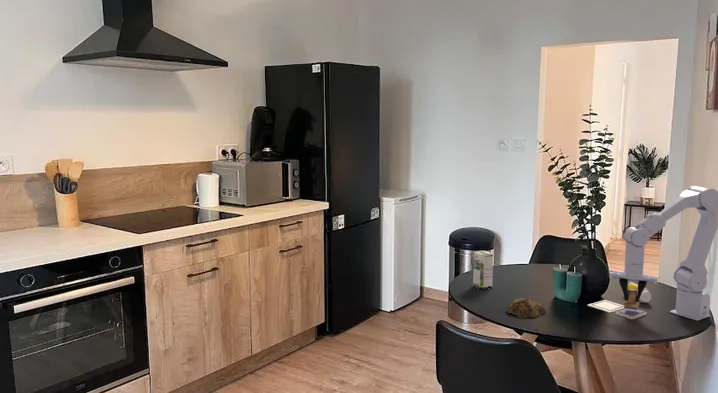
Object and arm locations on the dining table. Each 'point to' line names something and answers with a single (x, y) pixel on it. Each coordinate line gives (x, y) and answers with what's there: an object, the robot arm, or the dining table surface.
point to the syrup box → (483, 268)
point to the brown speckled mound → (525, 308)
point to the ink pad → (631, 313)
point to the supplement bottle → (645, 294)
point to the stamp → (631, 300)
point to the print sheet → (606, 306)
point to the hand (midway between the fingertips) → (631, 301)
